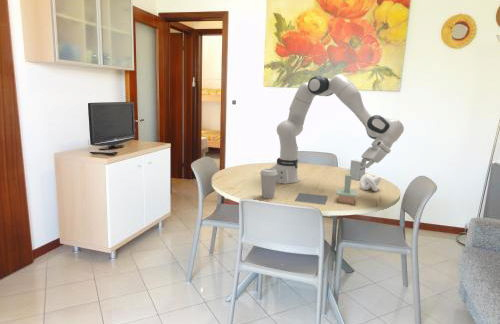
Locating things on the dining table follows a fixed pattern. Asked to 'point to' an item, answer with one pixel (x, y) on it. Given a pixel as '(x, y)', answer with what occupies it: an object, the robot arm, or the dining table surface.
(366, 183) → the white knot sculpture
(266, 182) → the coffee cup
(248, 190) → the dining table surface
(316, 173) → the dining table surface
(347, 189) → the lid
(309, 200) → the mat
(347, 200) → the open box
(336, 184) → the dining table surface
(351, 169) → the supplement box
